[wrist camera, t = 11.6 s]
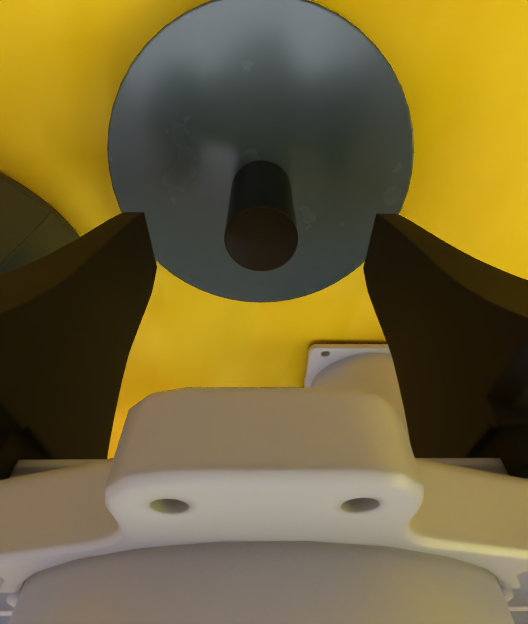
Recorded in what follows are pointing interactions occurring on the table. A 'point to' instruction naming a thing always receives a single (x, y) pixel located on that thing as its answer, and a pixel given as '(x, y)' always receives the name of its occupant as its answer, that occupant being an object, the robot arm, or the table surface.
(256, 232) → the lid
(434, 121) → the table surface
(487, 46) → the table surface
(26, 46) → the table surface
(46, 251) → the tin
